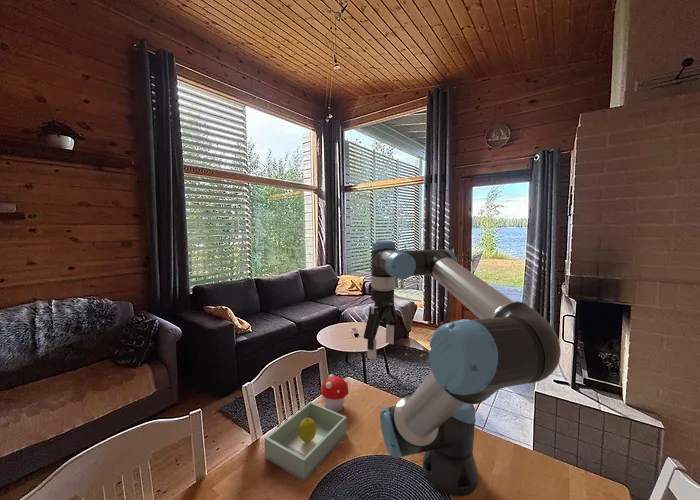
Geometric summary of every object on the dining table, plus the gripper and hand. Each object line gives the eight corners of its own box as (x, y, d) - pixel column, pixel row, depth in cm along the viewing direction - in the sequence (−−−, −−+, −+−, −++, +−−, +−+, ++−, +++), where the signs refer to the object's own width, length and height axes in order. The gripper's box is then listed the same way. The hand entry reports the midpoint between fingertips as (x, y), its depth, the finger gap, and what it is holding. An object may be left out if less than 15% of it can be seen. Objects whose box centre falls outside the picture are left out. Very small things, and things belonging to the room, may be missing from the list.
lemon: (313, 449, 94) (313, 425, 93) (296, 446, 95) (295, 423, 94) (318, 436, 100) (318, 414, 99) (302, 434, 101) (301, 411, 100)
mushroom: (337, 395, 125) (337, 367, 123) (354, 408, 116) (355, 378, 115) (315, 405, 118) (315, 376, 117) (332, 420, 110) (332, 388, 108)
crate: (346, 434, 102) (346, 416, 102) (304, 482, 84) (304, 460, 84) (310, 418, 111) (310, 401, 110) (264, 457, 92) (264, 438, 92)
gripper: (388, 279, 112) (386, 335, 114) (352, 294, 91) (352, 362, 93) (407, 282, 108) (405, 340, 110) (375, 298, 87) (373, 369, 89)
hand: (381, 350), depth 102 cm, fingers open, 13 cm apart
